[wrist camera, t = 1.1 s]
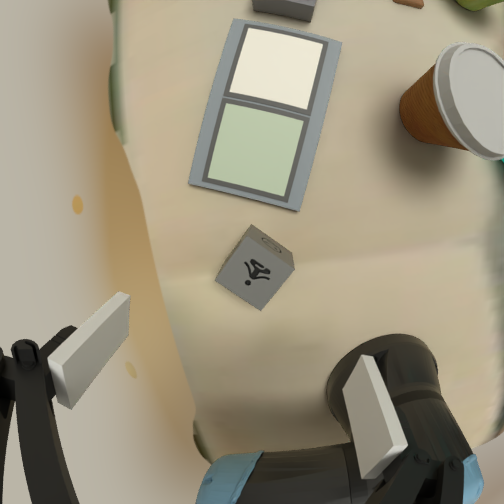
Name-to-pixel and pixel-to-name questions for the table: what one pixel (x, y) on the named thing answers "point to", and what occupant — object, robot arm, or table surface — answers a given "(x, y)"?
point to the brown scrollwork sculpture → (411, 3)
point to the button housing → (287, 8)
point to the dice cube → (256, 268)
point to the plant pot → (477, 4)
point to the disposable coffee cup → (459, 101)
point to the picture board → (265, 113)
